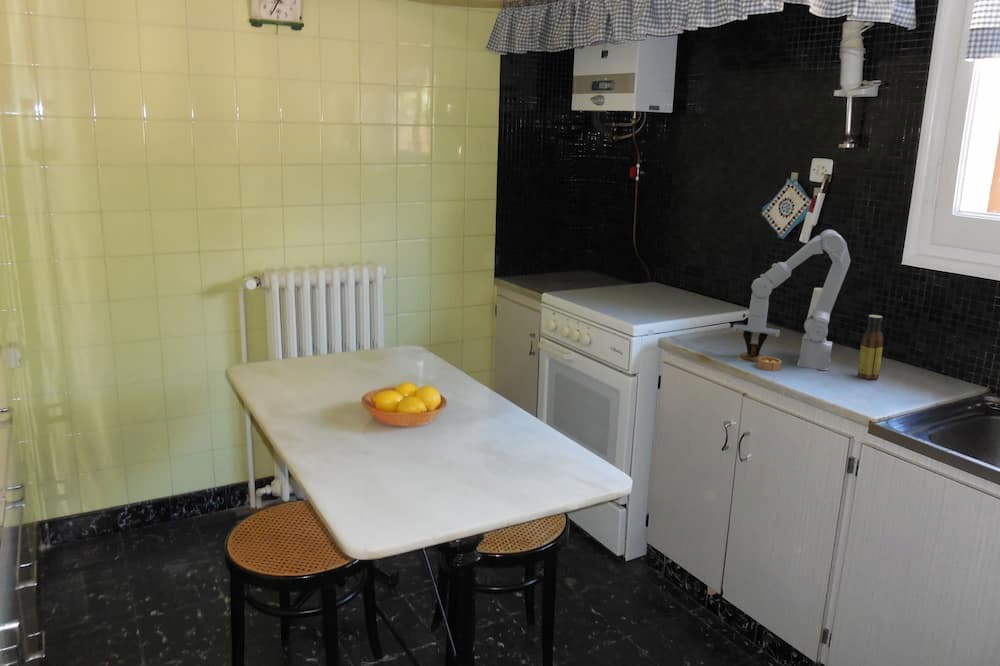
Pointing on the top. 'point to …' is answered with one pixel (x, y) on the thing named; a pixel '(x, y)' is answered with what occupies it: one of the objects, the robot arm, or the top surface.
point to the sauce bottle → (871, 349)
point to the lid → (751, 354)
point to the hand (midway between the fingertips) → (753, 354)
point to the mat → (740, 358)
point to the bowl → (769, 363)
